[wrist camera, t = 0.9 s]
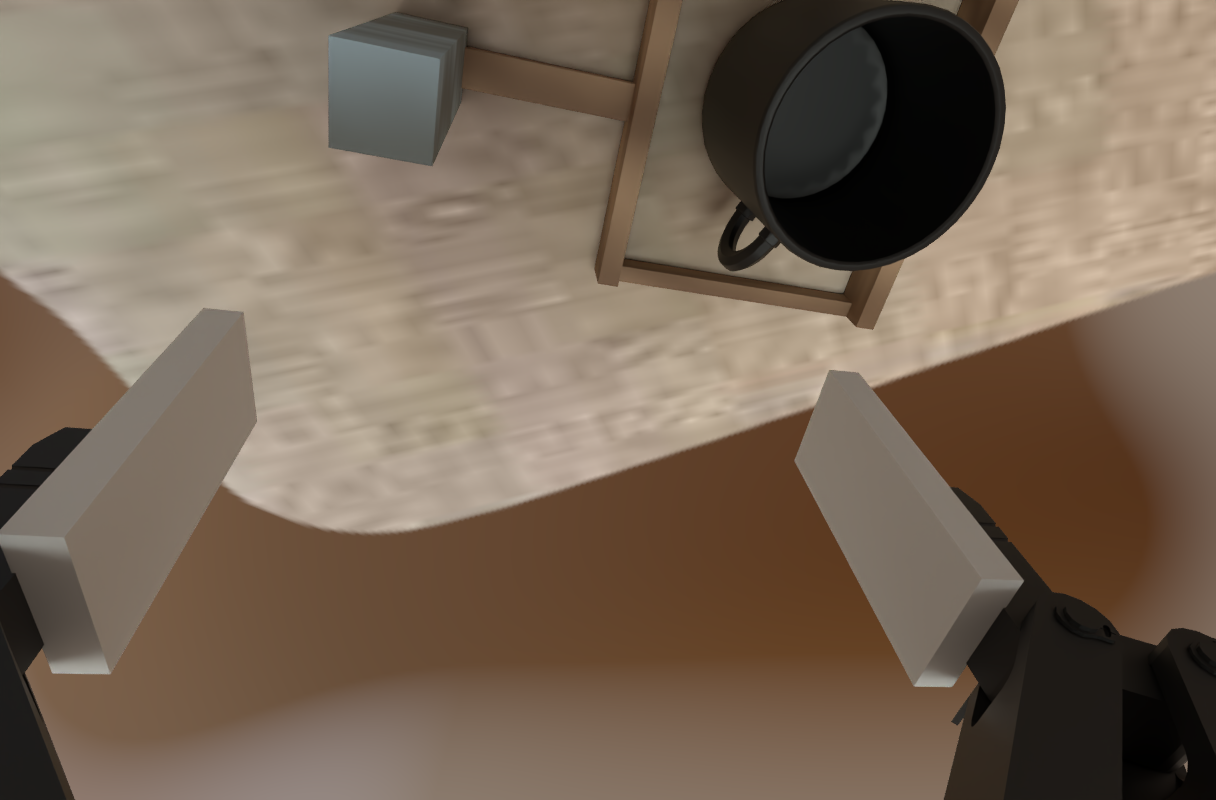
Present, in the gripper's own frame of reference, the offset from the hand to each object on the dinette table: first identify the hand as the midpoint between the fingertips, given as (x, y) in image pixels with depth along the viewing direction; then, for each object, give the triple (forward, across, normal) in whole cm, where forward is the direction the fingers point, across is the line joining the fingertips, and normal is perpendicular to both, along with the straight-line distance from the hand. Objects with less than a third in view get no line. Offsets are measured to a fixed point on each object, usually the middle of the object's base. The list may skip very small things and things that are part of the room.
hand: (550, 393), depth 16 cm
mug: (+21, +11, +3) cm, 24 cm away
